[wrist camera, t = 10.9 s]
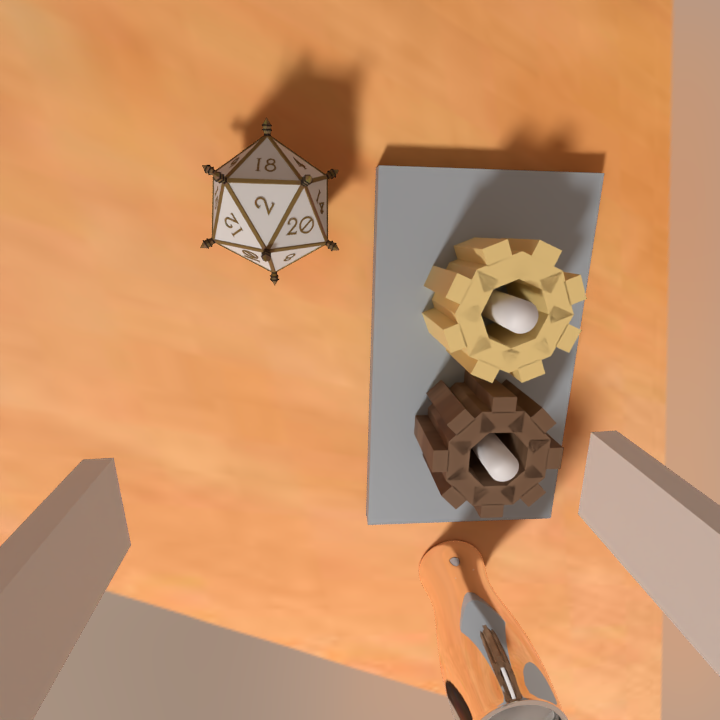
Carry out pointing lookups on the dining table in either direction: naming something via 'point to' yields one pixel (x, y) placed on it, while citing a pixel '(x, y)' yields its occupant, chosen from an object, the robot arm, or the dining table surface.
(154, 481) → the dining table surface
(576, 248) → the gear board
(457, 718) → the beer glass
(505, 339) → the gear
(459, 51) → the dining table surface
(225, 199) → the game die
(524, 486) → the walnut gear
